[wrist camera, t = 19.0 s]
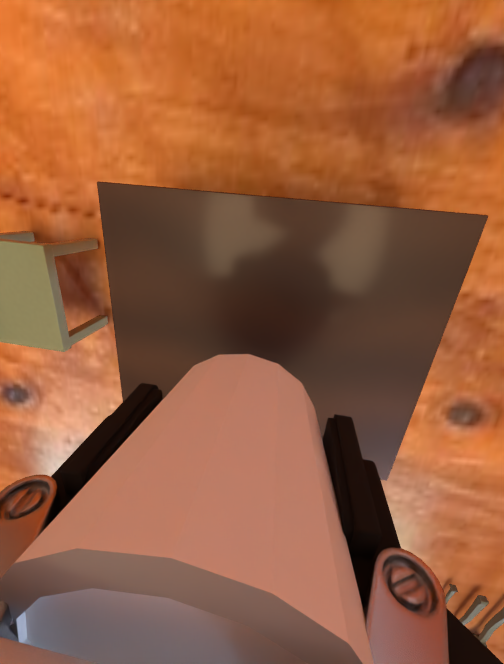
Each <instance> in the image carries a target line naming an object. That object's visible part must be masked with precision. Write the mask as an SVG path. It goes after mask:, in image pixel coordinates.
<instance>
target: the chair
mask: <svg viewBox="0 0 504 664" xmlns="http://www.w3.org/2000/svg"><path fill="white" fill-rule="evenodd" d="M34 241H35V239H34V234H33V232H27V231H22V232H9V233H0V342H4V343H10V344H17V345H23V346H29V347H36V348H42V349H49V350H55V351H61V352H65V351H67V350H68V349H70V348H71V345H73V344H75V343H76V342H78V341H80V340H82V339H83V338H85V337H87V336H88V335H90V334H92V333H93V332H95V331H97V330H98V329H100V328H102V327H104V326H105V325H107V324H108V319H107V316H101V315H99V316H97V317H95V318H93V319H91V320H90V321H88V322H86V323H84V324H82V325H80V326H78V327H76V328H74V329H72V330H70V331H69V332H68V327H67V322H66V317H65V312H64V306H63V301H62V296H61V290H60V285H59V280H58V275H57V269H56V264H55V259H54V257H56V256H61V255H67V254H72V253H77V252H83V251H88V250H93V249H98V242H97V239H92V238H87V239H79V240H72V241H64V242H56V243H49V244H45V243H36V242H34Z"/></svg>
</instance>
